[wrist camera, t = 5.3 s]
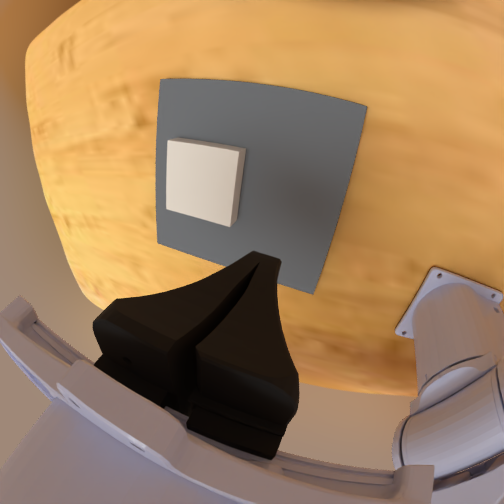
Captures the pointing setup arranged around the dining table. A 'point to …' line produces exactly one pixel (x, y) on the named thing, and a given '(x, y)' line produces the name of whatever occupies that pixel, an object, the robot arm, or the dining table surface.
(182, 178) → the tile
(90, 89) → the dining table surface
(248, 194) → the mat
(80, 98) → the dining table surface
